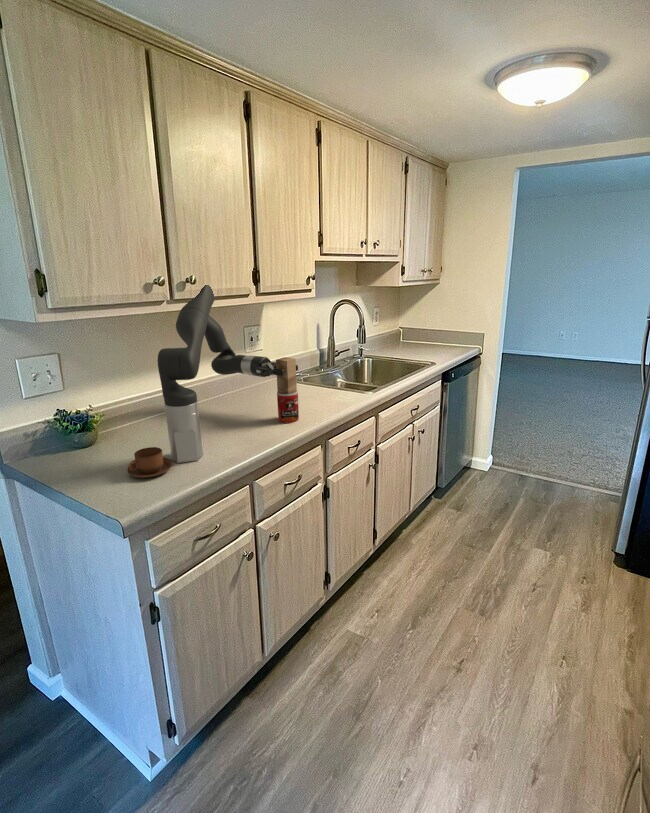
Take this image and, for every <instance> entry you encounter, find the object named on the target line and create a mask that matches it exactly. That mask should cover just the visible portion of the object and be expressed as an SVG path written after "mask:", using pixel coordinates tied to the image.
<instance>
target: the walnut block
mask: <svg viewBox="0 0 650 813" xmlns="http://www.w3.org/2000/svg"><path fill="white" fill-rule="evenodd" d="M296 360H297V359H296V358H295V357H294V358H293V357H287V356H286V357H285V356H283V357H279V358H277V359H275V362H276V369H283V370H284V375H283V376H279V375H276V386H277V387H276V389H277V391H278V392H280V393H286V394H290V393H292V392H295V391H298V387H297V386H298V385H297V371H296V365H297V364H296V363H297V361H296Z"/></svg>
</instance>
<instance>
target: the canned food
mask: <svg viewBox="0 0 650 813" xmlns="http://www.w3.org/2000/svg"><path fill="white" fill-rule="evenodd" d="M276 400H277V416H278V421H279V422H280V423H282V422H283V424H292V422H293V423H296V422H298V420H299V418H300V416H299V414H300V411H299V391H298V390H297V391H295V392H292V393H290V394H286V393H280V392H278V391H277V392H276Z"/></svg>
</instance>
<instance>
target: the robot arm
mask: <svg viewBox="0 0 650 813" xmlns="http://www.w3.org/2000/svg"><path fill="white" fill-rule="evenodd" d="M215 300H216V297H214V294H213V291H212V289H211V287H210V286H209V285H205V286H204V287H203V288H202V289H201V291H200V293H199V294H198V295H197V296H196V297H195V298H194V299H192V300H191V301H189V302H188V303H187V302H186V303H185V305H183V307H181V309H180V311H179V313H178V316H177V319H176V322H175V329H176V332H177V334H178V336H179V338H180V339H181V340H182V341H183V343H185V344H186V347H169V348H168V347H167V348H166V347H165V348H162V349H160V350H159V352H158V354H157V360H156V361H157V368H158V375H159V378H160V385H161V389H162V390H161V391H162V392H161V393H162V396H163V400H164V408H165V415H166V416H165V417H166V424H167V433H168V440H169V450H170V456H171V461H173V462H176V464H180V463H187V462H189V463H190V462H195V461H199V459H200V458H202V457H203V456H204V450H203V442H202V433H201V432H202V431H201V425H200V417H199V416H200V414H199V404H198V396H197V392H196V391H195V390H194V389H191V388H188V387H186V386H183V385H182V384H179V383H178V382H177V381H188V380H194V379H195V378H196V377H197V375H198V373H199V369H200V361H201V352H202V345H203V341H204V338H205V340H206V343H207V345H208V348H209V350H210V351H211V352H212V353H215V354H216V353H218V355H217V356H215V357H214V358H213V359H212V360H211V364H210V365H211V366H210V367H211V369H212V370H213V372H215V373H216V374H217V375H218V374H219V375H222V376H226V375H233V374H243V375H248V376H252V377H259V378H260V377H261V378H266V377H271V376H272V377H273V376H277V375H279V376H283V375H284V370H283V369H276V361H271V359H270V358H268V357H266V356H260V355H245V354H237V355H236V353H235V352H234V350H233V349H232V348H231V346H230V344H229V343H228V342H227V338H226V335H225V334H224V333H225V332H224V329H223V328H222V327H221V325H220V324H219V323H218V321H217V320H215V319H214V318H213V317H212V316H211V315H210V312H211V309H212V306H213V305H214V303H215ZM298 371H299V365H298V364H296V372H298Z"/></svg>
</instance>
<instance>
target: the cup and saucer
mask: <svg viewBox="0 0 650 813" xmlns="http://www.w3.org/2000/svg"><path fill="white" fill-rule="evenodd" d="M133 455H134V459H133V460H132V461H130V462H129V465H128V467H127V468H126V469H127V473H128V474H129V475H130V476H133V477H134V478H141V479H142V478H143V479H144V478H145V479H147V478H153V477H157V476H160V475H162V474H164V473H166V472H168V471H169V470H170V469H171V468H172V467H173V460H172V459H169V458H166V457H164V456H163V449H162V448H161V447H158V446H157V447H156V446H154V447H153V446H151V447H144V448H141V449H138V450H136V451H135V452H134V453H133Z"/></svg>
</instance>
